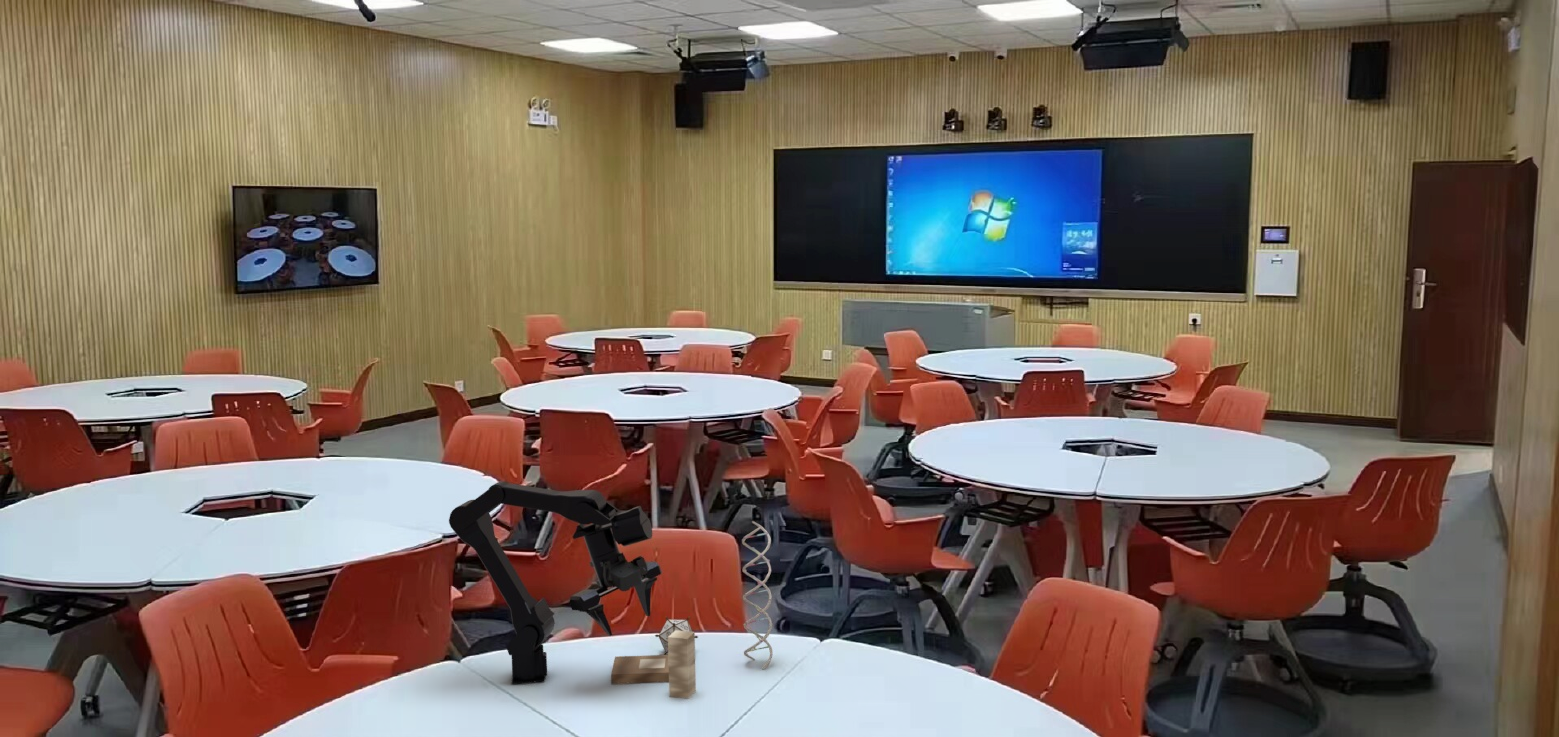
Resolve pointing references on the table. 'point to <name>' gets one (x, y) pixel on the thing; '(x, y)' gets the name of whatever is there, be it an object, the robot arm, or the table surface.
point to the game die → (672, 630)
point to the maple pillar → (681, 664)
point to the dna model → (761, 583)
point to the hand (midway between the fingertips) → (629, 625)
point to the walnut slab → (640, 669)
